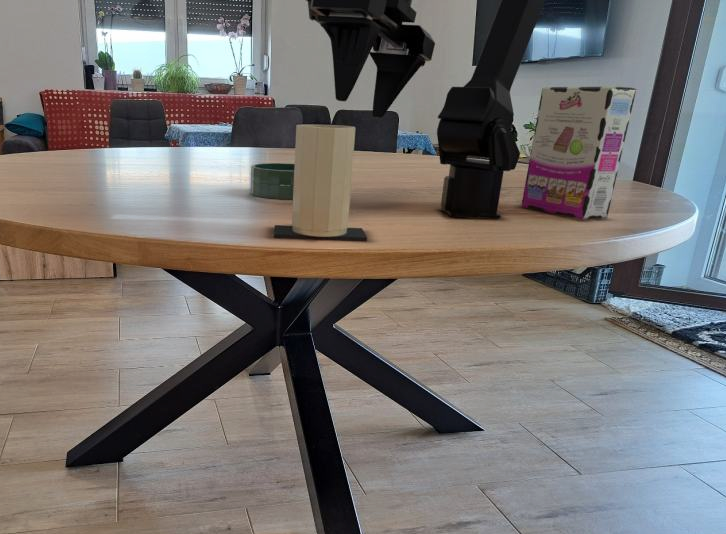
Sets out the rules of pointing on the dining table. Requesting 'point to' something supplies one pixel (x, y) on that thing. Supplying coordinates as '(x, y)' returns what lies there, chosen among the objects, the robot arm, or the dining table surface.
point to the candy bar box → (577, 150)
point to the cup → (322, 179)
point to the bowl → (273, 180)
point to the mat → (351, 234)
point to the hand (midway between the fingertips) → (359, 109)
